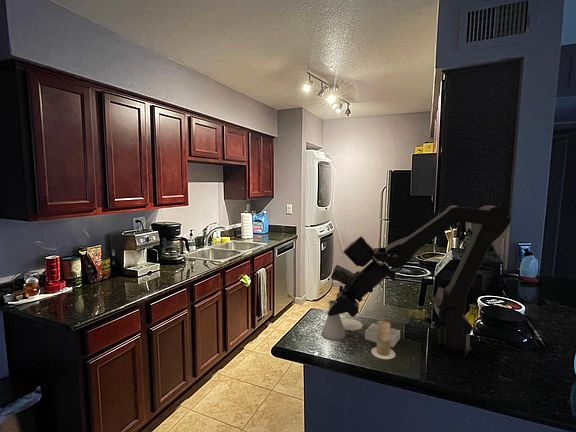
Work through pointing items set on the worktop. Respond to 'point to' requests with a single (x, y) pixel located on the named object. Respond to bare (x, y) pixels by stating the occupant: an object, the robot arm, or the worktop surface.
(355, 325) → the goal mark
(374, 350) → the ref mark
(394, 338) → the grey cover
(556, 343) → the worktop surface
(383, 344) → the birch peg
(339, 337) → the flask
